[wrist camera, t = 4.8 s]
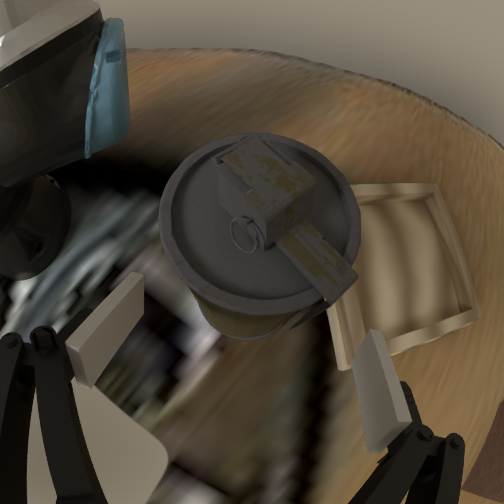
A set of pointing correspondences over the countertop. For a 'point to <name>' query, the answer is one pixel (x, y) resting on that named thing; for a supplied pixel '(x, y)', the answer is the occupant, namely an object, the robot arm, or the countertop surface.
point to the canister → (260, 232)
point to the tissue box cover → (489, 464)
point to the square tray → (403, 272)
